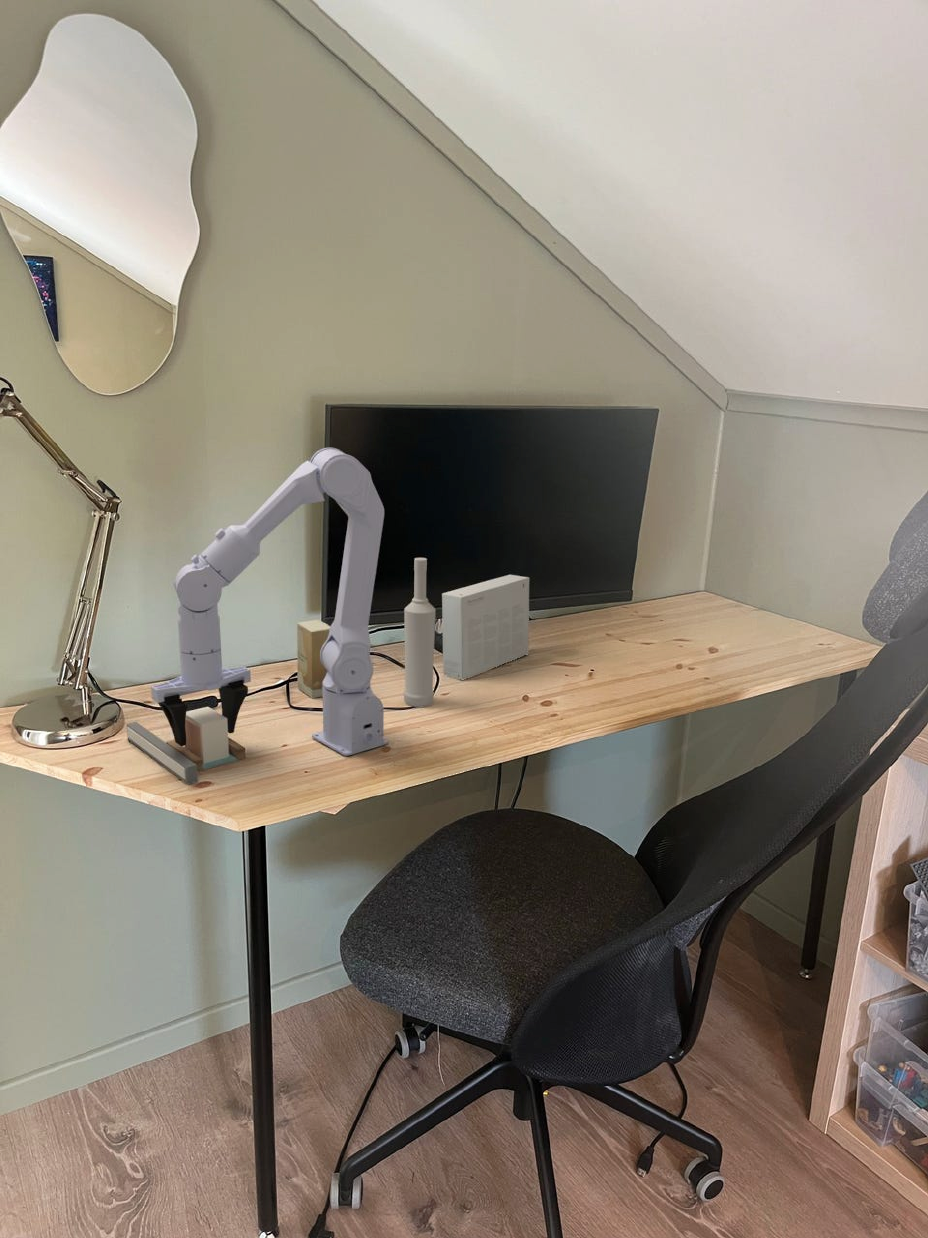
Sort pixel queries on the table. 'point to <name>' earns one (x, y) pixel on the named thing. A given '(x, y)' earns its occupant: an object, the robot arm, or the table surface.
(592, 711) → the table surface
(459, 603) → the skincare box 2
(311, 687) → the skincare box
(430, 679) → the bottle
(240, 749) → the facing slot
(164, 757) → the rail
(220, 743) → the carton
